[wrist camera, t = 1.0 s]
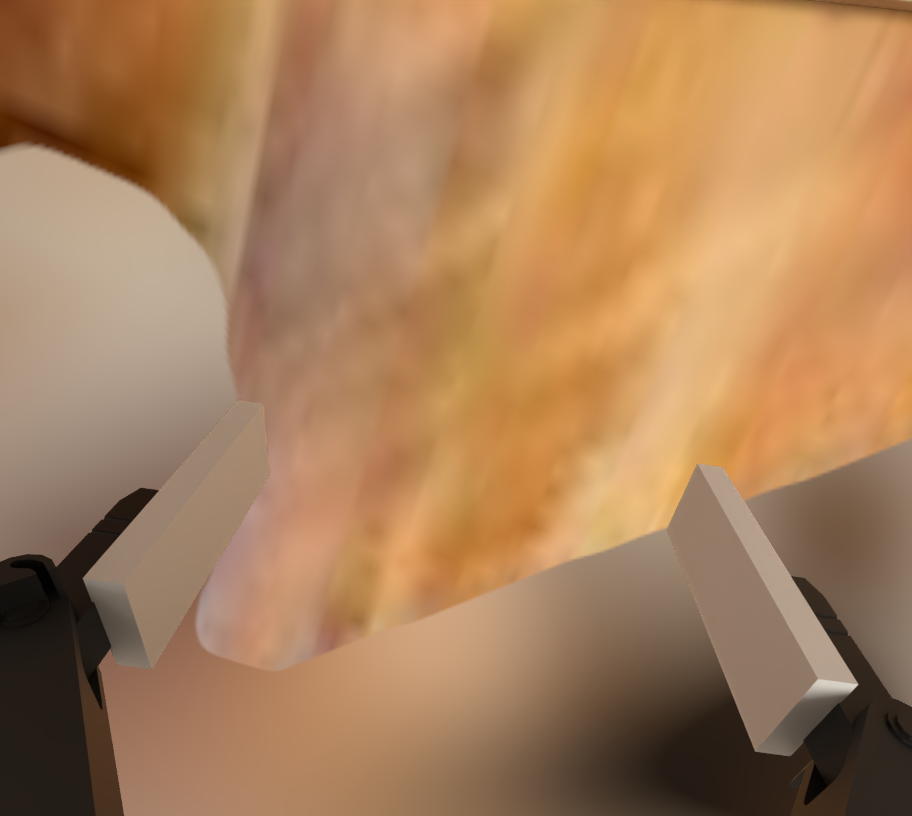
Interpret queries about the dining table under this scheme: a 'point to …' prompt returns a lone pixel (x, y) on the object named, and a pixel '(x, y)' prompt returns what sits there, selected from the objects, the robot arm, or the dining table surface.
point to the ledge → (877, 3)
